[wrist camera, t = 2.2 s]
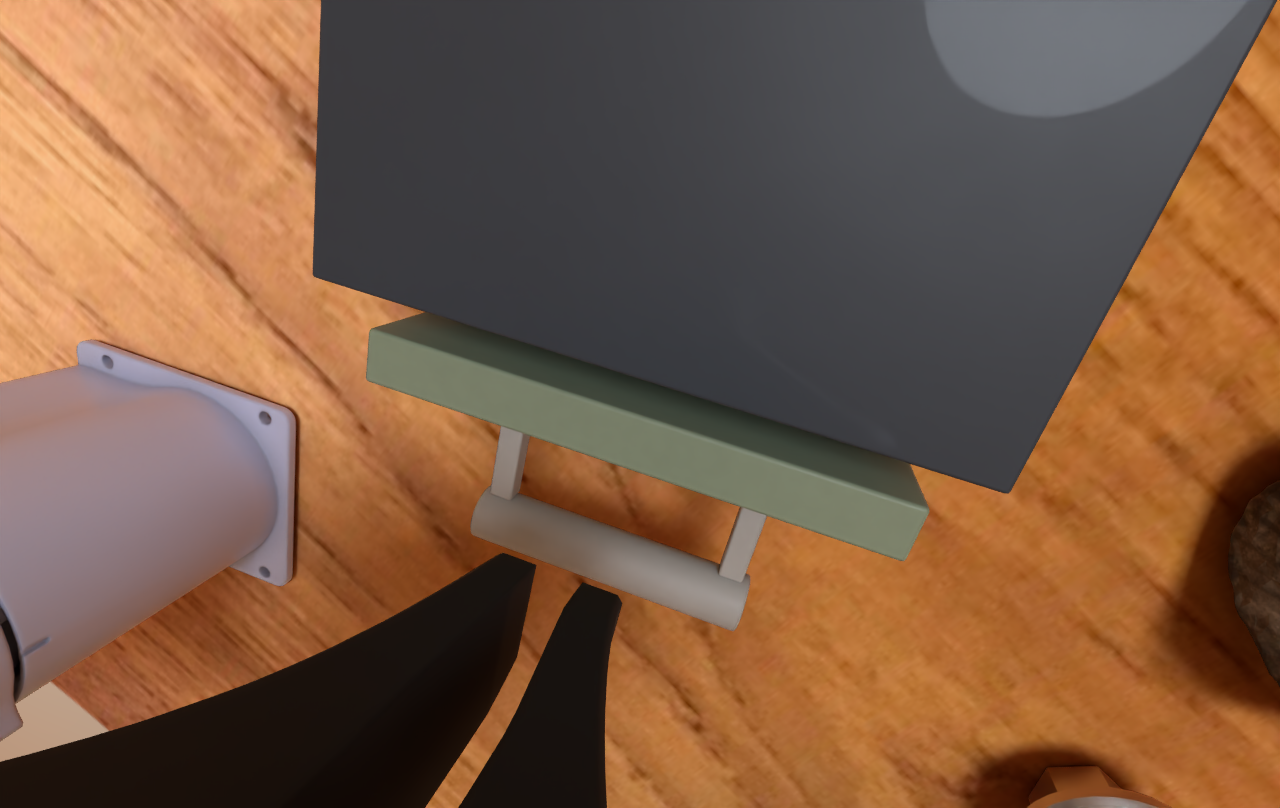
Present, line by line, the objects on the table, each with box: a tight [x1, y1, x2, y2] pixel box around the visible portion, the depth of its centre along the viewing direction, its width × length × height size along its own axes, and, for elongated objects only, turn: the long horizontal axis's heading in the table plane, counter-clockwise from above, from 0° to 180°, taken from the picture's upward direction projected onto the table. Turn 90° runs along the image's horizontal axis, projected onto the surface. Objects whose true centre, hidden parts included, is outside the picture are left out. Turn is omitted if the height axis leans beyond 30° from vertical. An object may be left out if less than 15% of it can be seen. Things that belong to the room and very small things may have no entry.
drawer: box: [366, 312, 929, 631], centre depth 13 cm, size 18×11×6 cm, turn 166°
